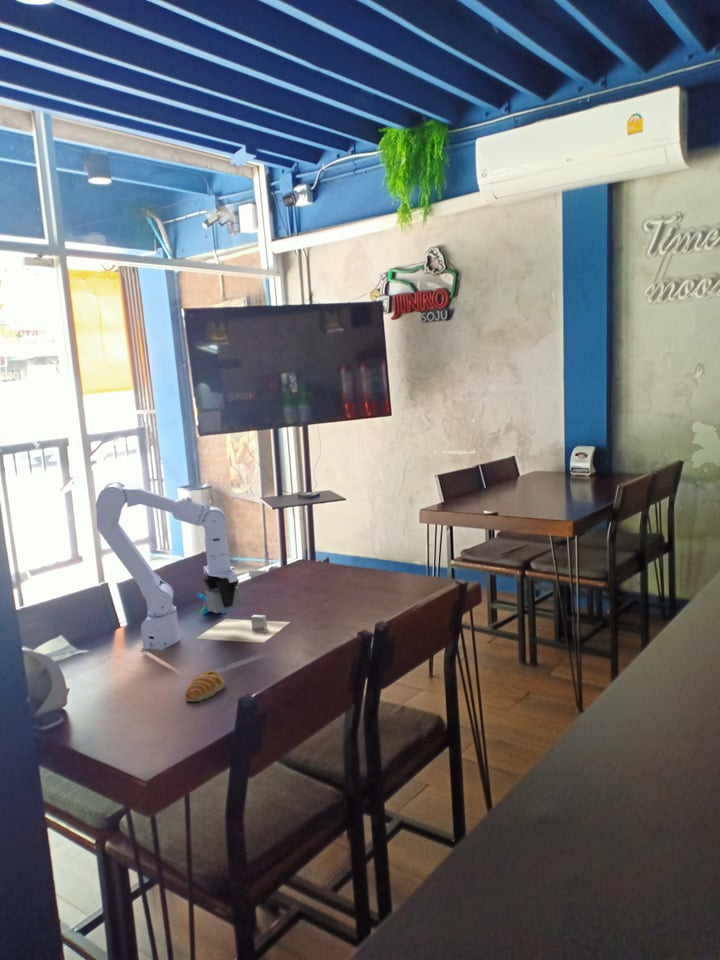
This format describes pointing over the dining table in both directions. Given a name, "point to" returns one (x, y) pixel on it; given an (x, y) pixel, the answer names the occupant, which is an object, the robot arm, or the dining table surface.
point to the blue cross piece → (205, 605)
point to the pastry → (204, 686)
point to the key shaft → (259, 622)
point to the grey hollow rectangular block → (220, 600)
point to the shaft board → (242, 631)
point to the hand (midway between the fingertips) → (223, 604)
